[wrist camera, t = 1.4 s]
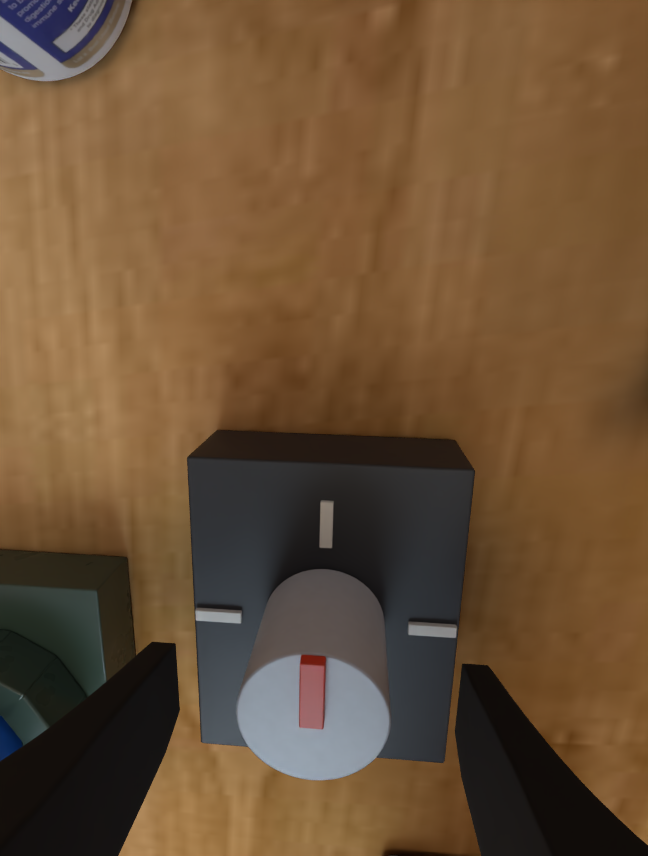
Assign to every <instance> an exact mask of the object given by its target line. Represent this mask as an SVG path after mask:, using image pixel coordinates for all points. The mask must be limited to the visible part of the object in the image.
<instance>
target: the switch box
mask: <svg viewBox="0 0 648 856" xmlns="http://www.w3.org/2000/svg"><path fill="white" fill-rule="evenodd" d="M134 657H135V647H134V635H133V623H132V612H131V600H130V589H129V577H128V566H127V558H126V557H113V556H96V555H79V554H63V553H46V552H29V551H12V550H0V716H2V717H3V718H4V720H5V721H6V722H7V723H8V725H9V726H10V727H11V728H12V730H13V731H14V732H15V733H16V735H17V736H18V737H19V738H20V740H21V741H22V745H23V746H24V745H25V744H27V743H28V742H30V741H31V740H33V739H34V738H35V737H37V736H38V735H40V734H41V733H42V732H44V731H45V730H47V729H48V728H49V727H51V726H52V725H53V724H54V723H56V722H57V721H58V720H60V719H61V718H62V717H63V716H65V715H66V714H67V713H69V712H70V711H71V710H72V709H74V708H75V707H76V706H78V705H79V704H80V703H81V702H83V701H84V700H85V699H86V698H87V697H89V696H90V695H91V694H92V693H93V692H95V691H96V690H97V689H98V688H99V687H101V686H102V685H103V684H104V683H105V682H106V681H108V680H109V679H110V678H111V677H112V676H113V675H115V674H116V673H117V672H118V671H119V670H120V669H121V668H123V667H124V666H125V665H126V664H127V663H128V662H129V661H131V660H132V659H133V658H134Z"/></svg>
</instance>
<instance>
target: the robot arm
mask: <svg viewBox="0 0 648 856" xmlns="http://www.w3.org/2000/svg"><path fill="white" fill-rule="evenodd" d="M179 710H180V707H179V692H178V676H177V660H176V644H175V643H161V642H152V643H150V644H149V645H148V646H147V647H146V648H144V649H143V650H142V651H141V652H140V653H139V654H137V655H136V656H135V657H134V658H133V659H132V660H131V661H129V662H128V663H127V664H126V665H125V666H124V667H123V668H121V669H120V670H119V671H118V672H117V673H116V674H115V675H113V676H112V677H111V678H110V679H109V680H108V681H106V682H105V683H104V684H103V685H102V686H101V687H99V688H98V689H97V690H96V691H95V692H93V693H92V694H91V695H90V696H89V697H87V698H86V699H85V700H84V701H83V702H81V703H80V704H79V705H78V706H76V707H75V708H74V709H72V710H71V711H70V712H69V713H67V714H66V715H65V716H63V717H62V718H61V719H60V720H58V721H57V722H56V723H54V724H53V725H52V726H51V727H49V728H48V729H47V730H45V731H44V732H42V733H41V734H40V735H38V736H37V737H35V738H34V739H33V740H31V741H30V742H28V743H27V744H25V745H24V746H22V747H21V748H19V749H18V750H16V751H15V752H13V753H12V754H10V755H9V756H7V757H6V758H4V759H3V760H1V761H0V856H118V855H119V853H120V851H121V849H122V846H123V844H124V842H125V840H126V838H127V836H128V833H129V831H130V829H131V827H132V825H133V823H134V820H135V818H136V816H137V814H138V812H139V810H140V807H141V805H142V803H143V801H144V799H145V797H146V794H147V792H148V790H149V788H150V786H151V784H152V781H153V779H154V777H155V775H156V773H157V770H158V768H159V766H160V764H161V762H162V759H163V757H164V755H165V753H166V750H167V747H168V744H169V741H170V738H171V735H172V732H173V729H174V726H175V723H176V720H177V717H178V713H179ZM455 736H456V743H457V751H458V758H459V764H460V771H461V777H462V781H463V785H464V789H465V793H466V797H467V801H468V805H469V809H470V813H471V817H472V821H473V825H474V829H475V833H476V837H477V841H478V845H479V848H480V852H481V856H648V845H647V844H645V843H644V842H643V841H642V840H641V839H640V838H639V837H637V836H636V835H635V834H634V833H633V832H632V831H631V830H630V829H629V828H628V827H627V826H625V825H624V824H623V823H622V822H621V821H620V820H619V819H618V818H617V817H616V816H615V815H614V814H613V813H612V812H611V811H610V810H609V809H608V808H607V807H606V806H605V805H604V804H603V803H602V802H601V801H600V800H599V799H598V798H597V797H596V796H595V795H594V794H593V793H592V792H591V791H590V790H589V789H588V788H587V787H586V786H585V785H584V784H583V783H582V782H581V781H580V780H579V778H578V777H577V776H576V775H575V774H574V773H573V772H572V771H571V770H570V768H569V767H568V766H567V765H566V764H565V763H564V762H563V761H562V759H561V758H560V757H559V756H558V755H557V754H556V752H555V751H554V750H553V749H552V748H551V747H550V745H549V744H548V743H547V742H546V741H545V739H544V738H543V737H542V736H541V734H540V733H539V732H538V731H537V729H536V728H535V727H534V726H533V724H532V723H531V722H530V721H529V719H528V718H527V717H526V716H525V714H524V713H523V712H522V710H521V709H520V708H519V706H518V705H517V704H516V702H515V701H514V700H513V698H512V697H511V696H510V694H509V693H508V692H507V690H506V689H505V688H504V686H503V685H502V683H501V682H500V681H499V679H498V678H497V677H496V675H495V674H494V672H493V671H492V670H491V668H490V667H489V666H488V665H476V664H462V671H461V680H460V689H459V698H458V707H457V716H456V725H455ZM390 856H396V855H390Z"/></svg>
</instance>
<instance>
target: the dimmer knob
mask: <svg viewBox="0 0 648 856" xmlns="http://www.w3.org/2000/svg"><path fill="white" fill-rule="evenodd" d="M236 715H237V722H238V726H239V730H240V732H241V734H242V737H243V739H244V740H245V742H246V744H247V745H248V746H249V748H250V749H251V750H252V752H253V753H254V754H255V755H256V756H257V757H258V758H260V759H261V760H262V761H263V762H265V763H266V764H267V765H269V766H271V767H272V768H274V769H276V770H278V771H280V772H282V773H284V774H287V775H290V776H293V777H297V778H301V779H308V780H331V779H337V778H341V777H345V776H348V775H351V774H353V773H355V772H357V771H359V770H361V769H363V768H364V767H366V766H367V765H368V764H370V763H371V762H372V761H373V760H374V759H375V758H376V757H377V756H378V755H379V753H380V752H381V750H382V749H383V747H384V745H385V743H386V741H387V739H388V735H389V732H390V726H391V711H390V697H389V682H388V667H387V653H386V638H385V623H384V615H383V611H382V608H381V606H380V604H379V602H378V600H377V598H376V597H375V595H374V594H373V593H372V592H371V590H370V589H369V588H368V587H367V586H365V585H364V584H363V583H362V582H361V581H359V580H358V579H356V578H354V577H352V576H350V575H348V574H345V573H343V572H339V571H335V570H329V569H314V570H308V571H303V572H300V573H298V574H295V575H293V576H291V577H289V578H288V579H286V580H285V581H283V582H282V583H281V584H280V585H279V586H278V587H277V588H276V589H275V590H274V592H273V593H272V594H271V596H270V598H269V600H268V602H267V605H266V608H265V611H264V614H263V618H262V621H261V624H260V627H259V630H258V634H257V637H256V640H255V643H254V646H253V650H252V653H251V656H250V659H249V662H248V666H247V669H246V672H245V675H244V678H243V682H242V685H241V688H240V691H239V694H238V699H237V704H236Z"/></svg>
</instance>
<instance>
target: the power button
mask: <svg viewBox="0 0 648 856" xmlns="http://www.w3.org/2000/svg"><path fill="white" fill-rule="evenodd" d="M22 746H23V745H22V741H21V740H20V738H19V737H18V736H17V735H16V733H15V732H14V731H13V730H12V728H11V727H10V726H9V725H8V723H7V722H6V721H5V720H4V718H3V717H2V716H0V761H1V760H3V759H4V758H6V757H7V756H9V755H10V754H12V753H13V752H15V751H16V750H18V749H19V748H21V747H22Z"/></svg>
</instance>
